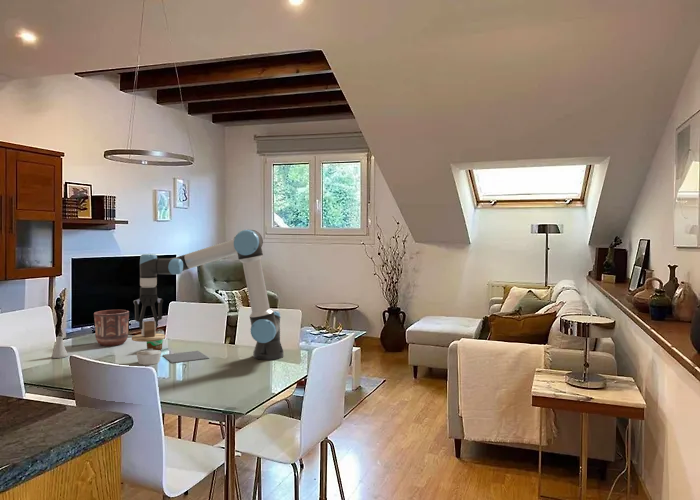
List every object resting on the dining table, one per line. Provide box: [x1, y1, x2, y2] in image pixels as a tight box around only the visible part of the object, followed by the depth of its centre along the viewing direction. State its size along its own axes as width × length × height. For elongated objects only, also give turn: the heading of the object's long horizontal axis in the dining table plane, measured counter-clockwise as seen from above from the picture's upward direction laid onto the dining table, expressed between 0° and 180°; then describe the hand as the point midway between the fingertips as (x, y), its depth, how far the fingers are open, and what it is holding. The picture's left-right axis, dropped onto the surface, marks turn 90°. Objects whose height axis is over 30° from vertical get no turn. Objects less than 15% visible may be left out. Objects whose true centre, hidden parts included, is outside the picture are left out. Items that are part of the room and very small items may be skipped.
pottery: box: [93, 309, 130, 347], centre depth 300 cm, size 18×18×18 cm
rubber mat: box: [162, 350, 210, 364], centre depth 271 cm, size 18×18×1 cm
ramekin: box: [136, 349, 162, 366], centre depth 259 cm, size 11×11×5 cm
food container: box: [146, 328, 165, 351], centre depth 286 cm, size 12×6×10 cm, turn 168°
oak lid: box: [131, 320, 166, 343], centre depth 259 cm, size 15×15×8 cm
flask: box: [51, 336, 69, 359], centre depth 270 cm, size 7×7×10 cm
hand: (148, 335), depth 259 cm, fingers closed on oak lid, 4 cm apart
